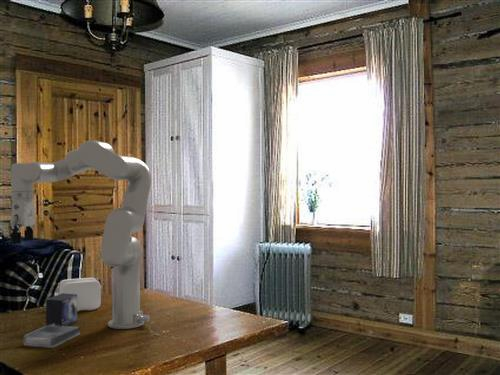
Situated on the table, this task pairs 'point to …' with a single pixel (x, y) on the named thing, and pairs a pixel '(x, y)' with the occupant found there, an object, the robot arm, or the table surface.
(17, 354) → the table surface
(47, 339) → the rail seat
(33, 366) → the table surface
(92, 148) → the robot arm
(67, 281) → the cable organizer
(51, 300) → the small box
